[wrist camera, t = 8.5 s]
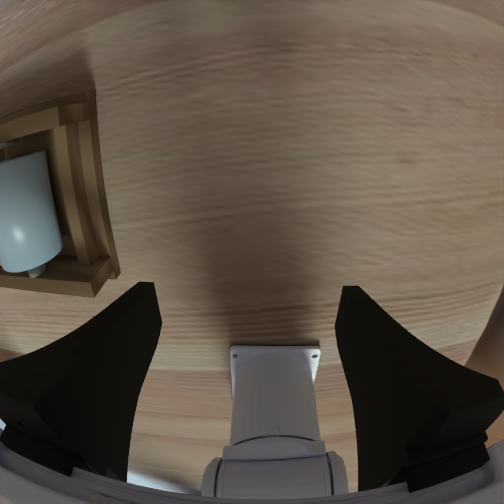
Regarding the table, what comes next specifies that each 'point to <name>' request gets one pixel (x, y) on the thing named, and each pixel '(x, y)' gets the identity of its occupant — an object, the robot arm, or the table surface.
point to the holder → (66, 194)
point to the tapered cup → (27, 213)
